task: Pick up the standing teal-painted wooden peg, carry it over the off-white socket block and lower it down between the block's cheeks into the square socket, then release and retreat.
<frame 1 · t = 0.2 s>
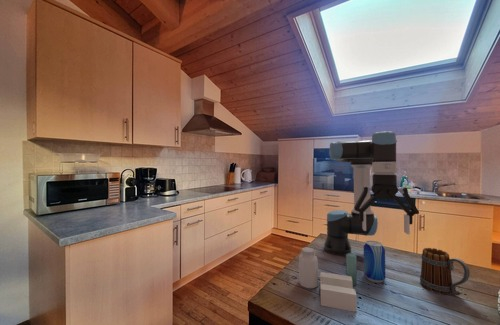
hand: (385, 231, 77), 27 cm above the table, fingers open, 13 cm apart
mug: (443, 291, 86), on the table
peg: (351, 282, 92), on the table
beer can: (374, 278, 95), on the table
pill bottle: (308, 284, 91), on the table
socket: (336, 297, 82), on the table
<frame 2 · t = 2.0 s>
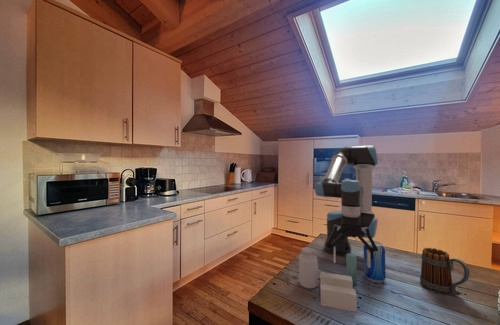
hand: (351, 264, 91), 8 cm above the table, fingers open, 13 cm apart
nothing on the table moved.
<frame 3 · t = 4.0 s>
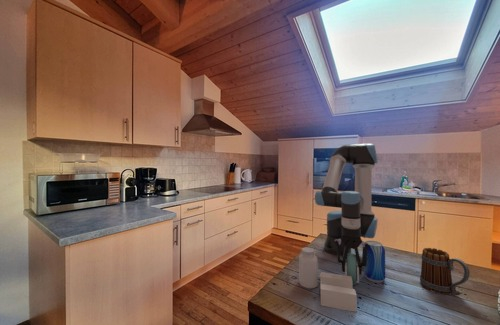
hand: (351, 279, 92), 1 cm above the table, fingers closed on peg, 4 cm apart
peg: (351, 282, 92), on the table, touching gripper
everything else where it was.
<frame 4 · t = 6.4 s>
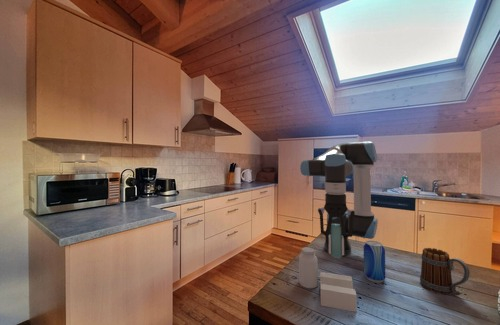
hand: (336, 253, 82), 17 cm above the table, fingers closed on peg, 4 cm apart
peg: (336, 255, 82), point 16 cm above the table, touching gripper
everything else where it was.
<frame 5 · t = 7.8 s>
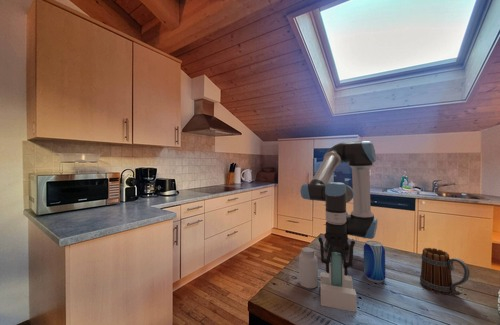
hand: (336, 281, 82), 6 cm above the table, fingers closed on peg, 4 cm apart
peg: (336, 284, 81), point 5 cm above the table, touching gripper
everything else where it was.
when the fingers open (4 cm above the table, at t = 8.9 s): peg drops 3 cm, resting in socket.
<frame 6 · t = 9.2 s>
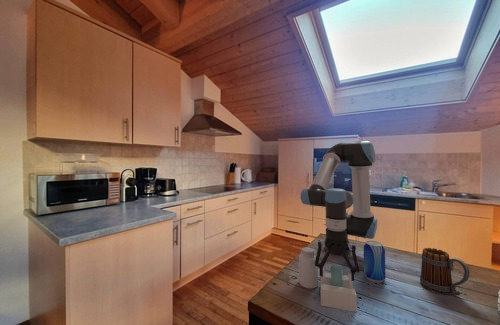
hand: (336, 286, 82), 4 cm above the table, fingers open, 9 cm apart
peg: (336, 297, 82), resting in socket
everything else where it was.
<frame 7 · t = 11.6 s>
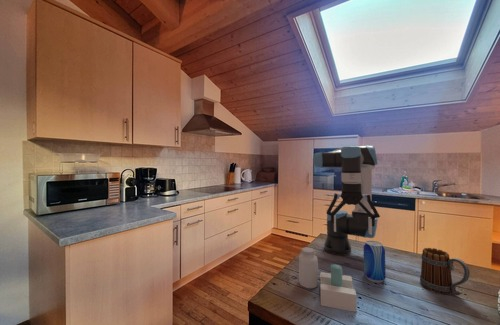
hand: (352, 232, 89), 23 cm above the table, fingers open, 13 cm apart
nothing on the table moved.
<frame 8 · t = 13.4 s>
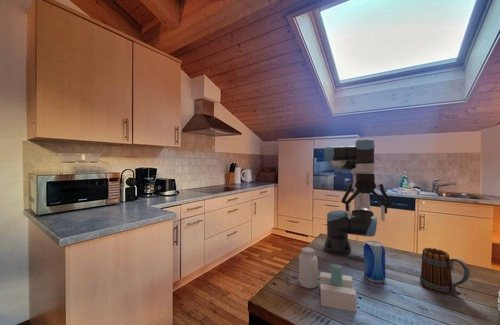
hand: (365, 219, 95), 27 cm above the table, fingers open, 13 cm apart
nothing on the table moved.
at the end: peg 0.0 cm off-centre on the socket, point 0.0 cm above the socket's base; peg tilted 0°; the gripper is holding nothing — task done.
